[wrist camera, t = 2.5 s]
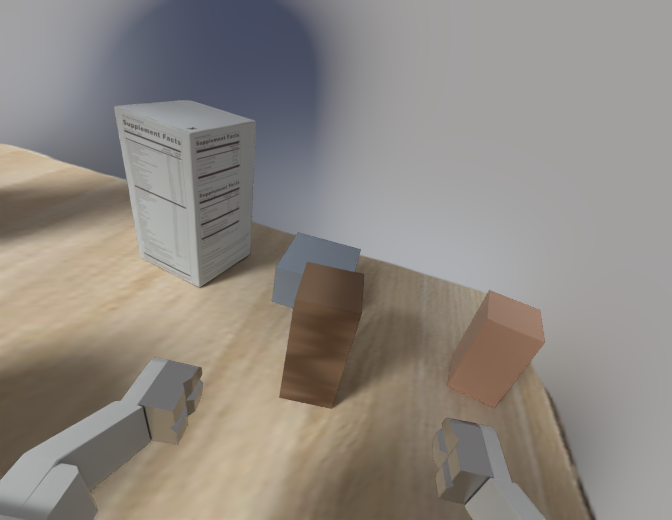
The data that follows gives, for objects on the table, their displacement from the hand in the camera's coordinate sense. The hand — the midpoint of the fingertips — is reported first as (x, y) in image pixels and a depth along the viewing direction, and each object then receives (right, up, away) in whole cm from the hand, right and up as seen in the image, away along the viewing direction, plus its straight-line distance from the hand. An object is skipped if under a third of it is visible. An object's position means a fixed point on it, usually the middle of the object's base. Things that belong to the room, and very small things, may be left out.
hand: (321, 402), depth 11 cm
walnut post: (-2, -6, +19) cm, 20 cm away
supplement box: (-17, +5, +31) cm, 35 cm away
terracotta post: (+14, -7, +23) cm, 28 cm away
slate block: (-2, +1, +30) cm, 30 cm away
